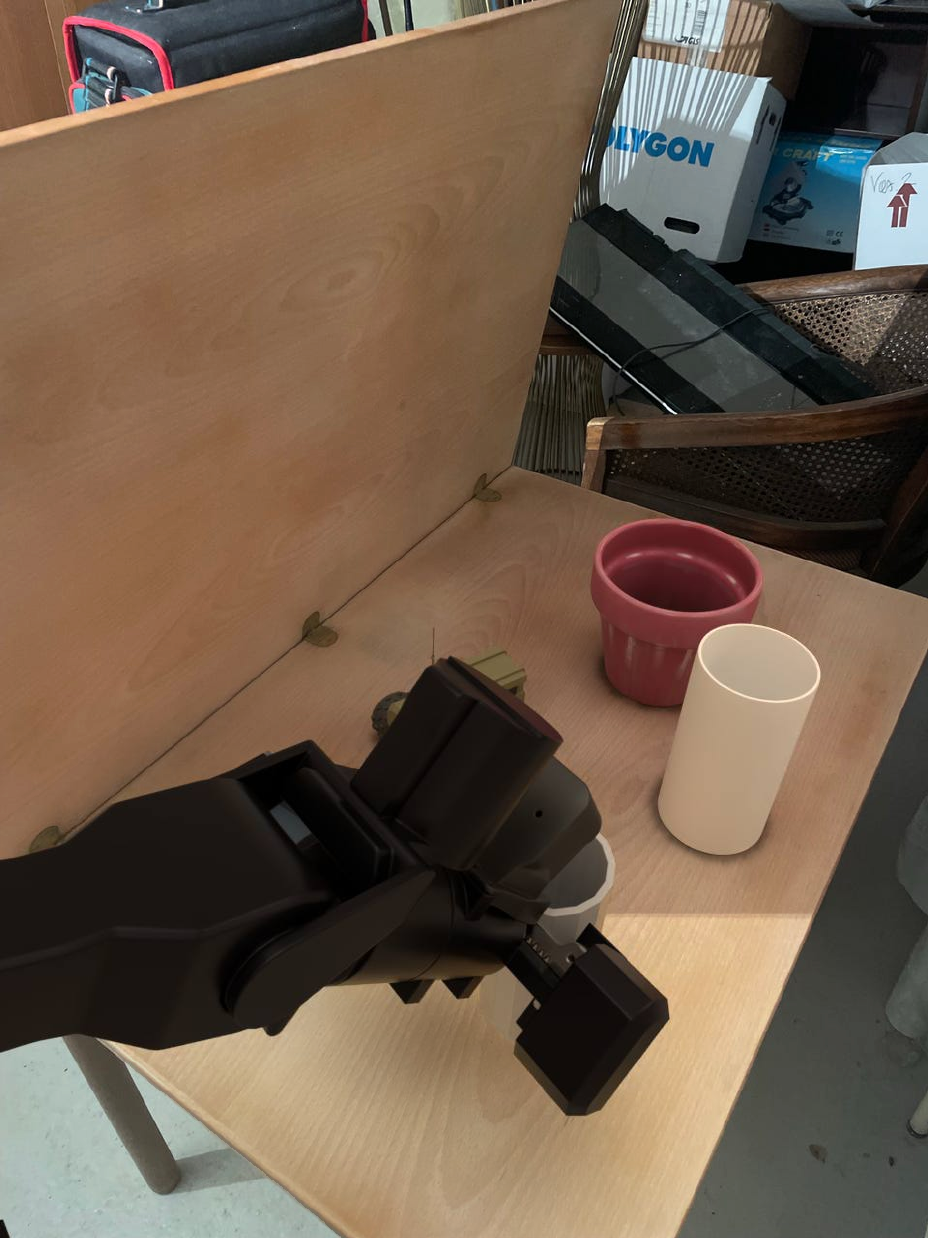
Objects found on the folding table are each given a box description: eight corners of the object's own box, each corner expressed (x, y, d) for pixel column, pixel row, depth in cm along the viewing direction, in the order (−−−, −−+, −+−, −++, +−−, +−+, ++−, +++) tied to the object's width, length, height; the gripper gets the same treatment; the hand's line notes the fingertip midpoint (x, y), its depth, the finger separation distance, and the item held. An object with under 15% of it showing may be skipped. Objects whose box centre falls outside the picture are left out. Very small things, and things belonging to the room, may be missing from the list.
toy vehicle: (545, 763, 75) (560, 653, 67) (432, 819, 70) (434, 708, 62) (474, 688, 81) (480, 582, 74) (366, 735, 76) (361, 626, 69)
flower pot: (663, 753, 76) (693, 637, 68) (546, 667, 84) (560, 554, 76) (761, 681, 84) (798, 569, 76) (644, 608, 92) (667, 500, 84)
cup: (723, 874, 67) (778, 721, 57) (636, 808, 71) (673, 655, 61) (783, 816, 71) (844, 665, 61) (698, 757, 76) (741, 608, 66)
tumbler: (546, 1070, 50) (573, 939, 42) (454, 1003, 53) (462, 868, 45) (603, 984, 54) (637, 850, 46) (514, 926, 57) (532, 790, 49)
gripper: (684, 911, 31) (787, 920, 44) (376, 637, 42) (529, 707, 55) (500, 1157, 32) (652, 1097, 45) (245, 825, 43) (425, 852, 56)
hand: (558, 917), depth 50 cm, fingers closed on tumbler, 6 cm apart
